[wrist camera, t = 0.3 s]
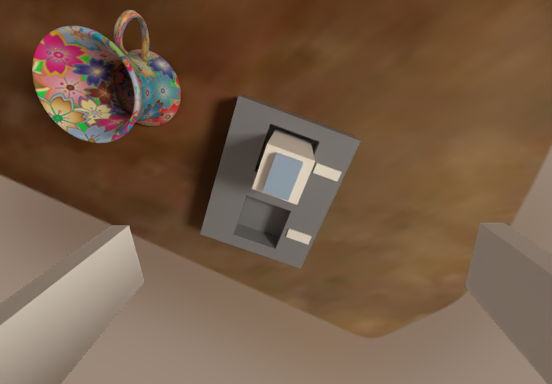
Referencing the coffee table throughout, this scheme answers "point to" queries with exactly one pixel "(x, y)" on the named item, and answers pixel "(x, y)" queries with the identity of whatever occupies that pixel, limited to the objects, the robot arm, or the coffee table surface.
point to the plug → (285, 167)
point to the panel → (265, 208)
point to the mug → (103, 82)
